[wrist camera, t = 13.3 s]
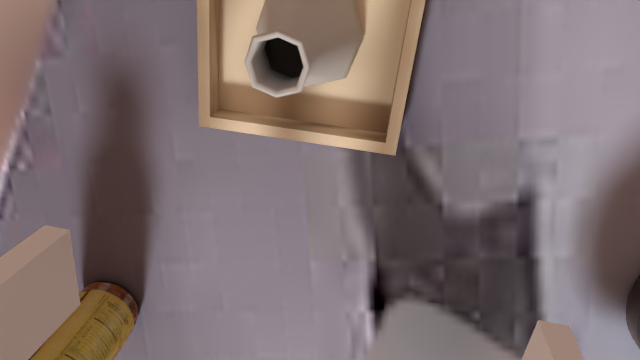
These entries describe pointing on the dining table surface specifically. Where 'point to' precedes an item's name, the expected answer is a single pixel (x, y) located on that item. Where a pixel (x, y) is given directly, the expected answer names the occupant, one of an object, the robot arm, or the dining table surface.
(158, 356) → the dining table surface
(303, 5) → the flask
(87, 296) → the sauce bottle
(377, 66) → the serving tray
